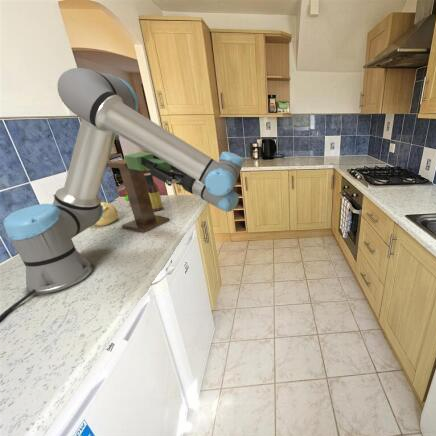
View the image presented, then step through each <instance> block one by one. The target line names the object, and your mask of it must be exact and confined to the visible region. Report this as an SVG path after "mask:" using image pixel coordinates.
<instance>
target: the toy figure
mask: <svg viewBox="0 0 436 436" xmlns="http://www.w3.org/2000/svg"><path fill="white" fill-rule="evenodd" d="M141 157H144V158H146V159H148V160H149V161H151V162H153V163H155V164H157V166H158V167H161V168H164V169H166V170H169V171H172V169H171V165H170V164H168V163H166V162H165V161H163V160H160V159H154V158H153V154H151V153H149V152H147V151H139V152H130V153H127V154H125V155H123V159H125V161H126V163H127V166H128V168H129V169H134V170H139V171H142V170H143V171H144V170H146V171H150V169H148V168H146V167H145V166H144V165H142V164H141Z"/></svg>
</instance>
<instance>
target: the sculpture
mask: <svg viewBox="0 0 436 436" xmlns="http://www.w3.org/2000/svg"><path fill="white" fill-rule="evenodd" d="M100 204H101V205H102V206H103V215H102V217H101V219H100V220H99V221H98V222H96V224H94V225H93V226H97V227H98V226H99V227H100V226H103V227H104V226H107V225H110V224H112V223H114V222H115V221H116V220H117V219H118V217H119V213H118V209H117V208H116V207H115V205H113V204H112V203H109V202H107V201H101V203H100Z"/></svg>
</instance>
